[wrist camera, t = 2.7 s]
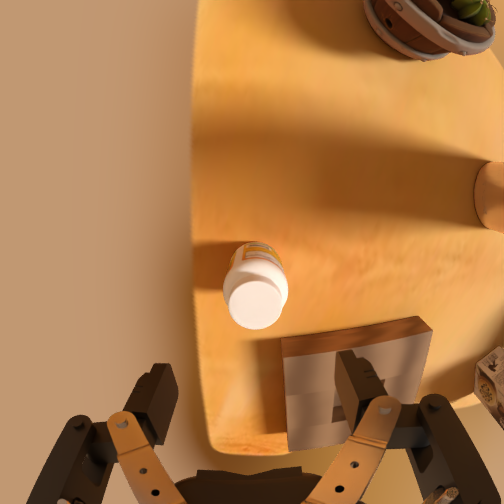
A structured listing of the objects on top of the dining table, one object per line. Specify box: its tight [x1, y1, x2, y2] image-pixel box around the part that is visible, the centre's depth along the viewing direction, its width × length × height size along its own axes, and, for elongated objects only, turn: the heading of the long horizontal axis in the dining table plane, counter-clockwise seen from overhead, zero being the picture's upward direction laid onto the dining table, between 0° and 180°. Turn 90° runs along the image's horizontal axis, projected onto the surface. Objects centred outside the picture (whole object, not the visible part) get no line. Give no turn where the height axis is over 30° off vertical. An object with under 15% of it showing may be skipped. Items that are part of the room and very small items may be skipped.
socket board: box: [281, 316, 433, 452], centre depth 32 cm, size 18×18×4 cm
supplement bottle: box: [223, 242, 288, 329], centre depth 25 cm, size 5×5×10 cm
